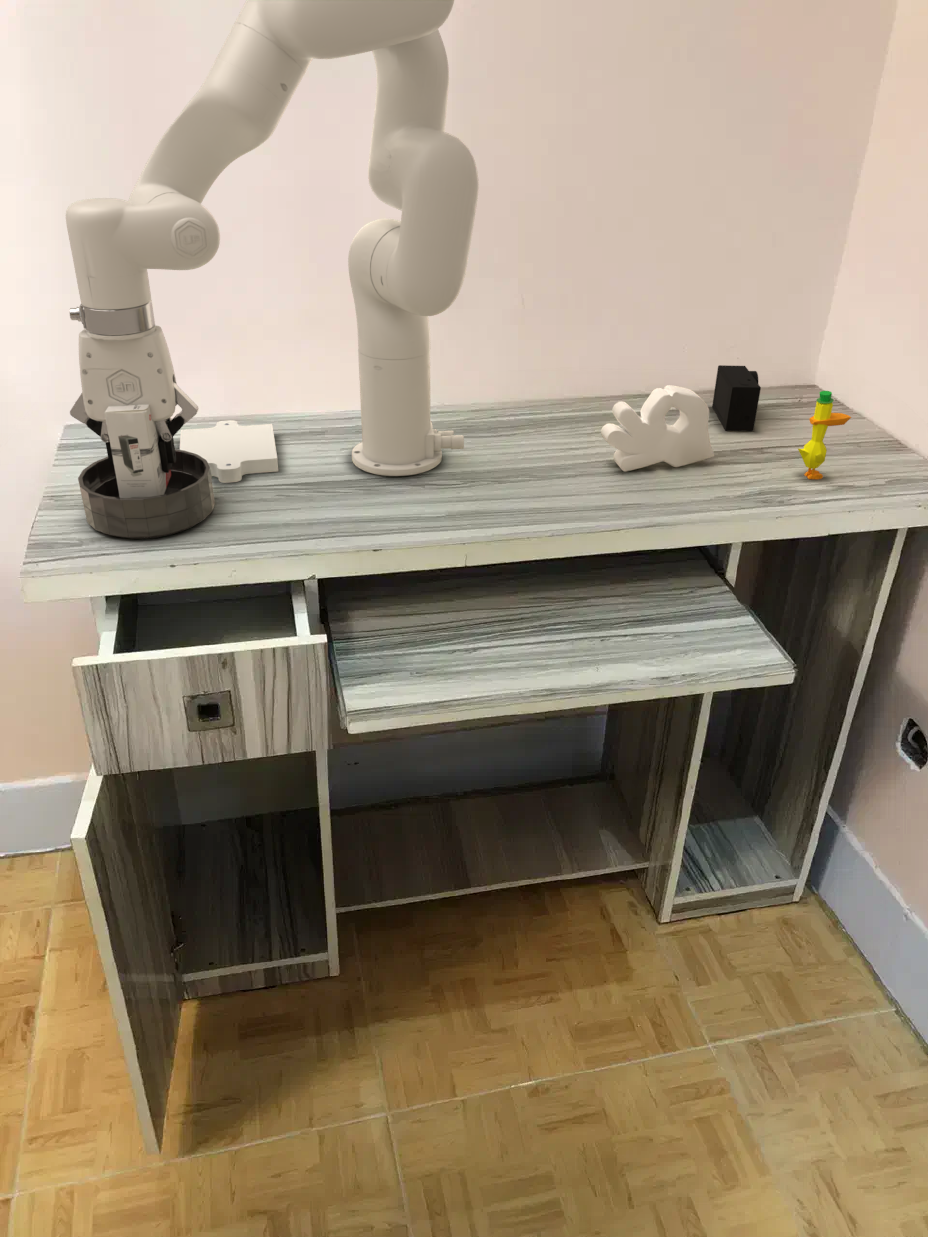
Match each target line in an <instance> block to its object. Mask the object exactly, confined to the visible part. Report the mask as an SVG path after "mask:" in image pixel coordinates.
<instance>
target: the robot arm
mask: <svg viewBox="0 0 928 1237" xmlns="http://www.w3.org/2000/svg"><path fill="white" fill-rule="evenodd" d="M454 4H455V0H245V2H244V4H243V6H242V8H241V9H240V12H239V14H238V16H237V17H236V20H235V21H234V23H233V25H232V27H231V29H230V30H229V33H228V35H227V37H226V39H225V41H224V43H223V45H222V47H221V48H220V50H219V52H218V54H217V56H216V58H215V60H214V62H213V64H212V65H211V68H210V69H209V71H208V73H207V76H206V77H205V79H204V81H203V83H202V85H201V86H200V88H199V89H198V91H197V92H196V93H195V94H194V96H192V97H191V98H190V100H189V101H188V102H187V104H186V105H185V106H184V108H183V109H182V110H181V111H180V113H179V114H178V116H177V117H176V118H175V120H173V122H172V123H171V124H170V125H169V127H168V128H167V129H166V131H165V132H164V133H163V134H162V135H161V138H160V139H159V141H157V143H156V145H155V147H153V150H152V152H151V154H150V156H149V157H148V159H147V161H146V163H145V165H144V167H143V168H142V170H141V172H140V174H139V177H138V179H137V181H136V182H135V185H134V187H133V188H132V191H131V193H130V196H129V199H128V200H125V199H122V198H116V197H95V198H93V197H92V198H85V199H80V200H77V201H74V202H72V203H70V204H69V206H68V207H67V209H66V210H65V224H66V229H67V234H68V240H69V245H70V252H71V256H72V263H73V266H74V267H73V268H74V273H75V277H76V282H77V288H78V289H77V290H78V295H79V300H80V302H81V303H80V305H79V306H76V307H70V308H69V318H70V320H71V321H78V322H81V324H82V326H83V329H82V331H80V332H79V333H78V363H79V364H78V365H79V375H80V385H81V394H80V395H79V396H78V398H77V399H76V401H75V402H74V404H73V405H72V407H71V409H70V410H69V415H70V416H71V417H72V418H74V419H75V420H77V421H78V422H80V423H81V424H84V425H86V427H87V428H88V429H90V430H91V431H92V432H93V433H94V434H96V435H97V436H99V437H100V440H101V441H102V442H104V443H105V449H106V454H107V457H108V459H109V463H110V464H114V462H113V456H112V450H111V445H110V439H109V434H108V428H107V423H106V418H105V411H106V409H107V408H108V407H109V406H128V405H144V404H149V407H150V413H151V419H152V421H155V425H156V427H157V429H158V431H159V433H160V439H159V442H158V447H159V454H160V460H161V467H162V472H164V473H169V471H170V468H171V466H172V463H175V462H176V453H175V449H176V448H175V440H174V437H175V435H176V434H177V433H178V432H179V431H181V429H182V428H183V426H184V425H185V424H186V423H188V422H189V421H190V420H191V419H193V418H194V417H195V416H196V415H197V414H198V412H199V406H198V405H197V404H196V402H194V400H192V399H191V397H189V395H187V393H186V392H185V391H184V390H182V388H181V387H180V386H179V385H178V384H177V378H176V373H175V370H174V365H173V361H172V357H171V353H170V350H169V347H168V343H167V340H166V337H165V334H164V332H163V329H162V327H161V326H160V325H156V320H155V314H154V313H155V312H154V307H153V299H152V293H151V286H150V279H149V273H148V270H165V271H166V270H167V271H169V270H170V271H192V270H195V269H198V268H201V267H203V266H205V265H207V264H209V263H210V261H212V259H214V257H215V256H216V254H217V252H218V250H219V248H220V245H221V244H220V243H221V232H220V228H219V225H218V221H217V220H216V218H215V216H214V215H213V214H212V212H211V211H210V210H209V209H208V208H207V207H205V206H204V205H203V201H204V200H205V198H206V196H207V194H208V192H209V190H210V189H211V188H212V185H214V183H215V182H216V180H217V179H218V177H219V176H220V175H221V173H222V172H223V171H224V170H225V169H226V168H228V167H229V166H230V165H231V164H232V163H233V162H234V161H236V160H238V158H240V157H242V156H243V155H246V154H248V153H250V152H251V151H253V150H255V149H257V148H258V147H259V146H261V145H262V144H264V143H265V142H267V140H269V139H270V138H271V137H272V136H273V134H274V132H275V131H276V129H277V127H278V125H279V123H280V122H281V120H282V117H283V116H284V114H285V111H286V109H287V107H288V106H289V104H290V102H291V100H292V99H293V97H294V95H295V93H296V91H297V89H298V87H299V85H300V84H301V82H302V80H303V78H304V76H305V75H306V73H307V71H308V69H309V67H310V65H311V64H312V61H313V59H315V60H334V59H339V58H345V57H351V56H356V55H360V54H365V53H370V52H371V53H372V55H373V59H374V65H375V71H376V87H375V103H374V112H373V121H372V130H371V137H370V146H369V156H368V163H367V178H368V184H369V188H370V189H371V192H372V193H373V194H374V196H375V197H376V198H377V199H378V200H379V201H381V203H384V204H385V205H387V206H389V207H392V208H393V209H396V210H399V211H401V216H400V219H399V220H398V219H394V218H378V219H374V220H372V221H369V222H368V223H366V224H364V225H363V226H361V228H360V229H359V230H358V231H357V232H356V234H355V235H354V237H353V239H352V241H351V242H350V246H349V251H348V258H347V259H348V260H347V264H348V265H347V266H348V276H349V281H350V287H351V291H352V297H353V302H354V303H353V304H354V310H355V316H356V328H357V353H358V355H357V356H358V376H359V377H358V378H359V399H360V422H361V425H360V426H361V441H360V442H359V443H357V444H356V445H355V446H354V447H353V448H352V450H351V462H352V463H353V464H354V465H355V466H356V468H358V469H359V470H362V471H364V472H366V473H369V474H374V475H378V476H386V477H406V476H413V475H414V476H415V475H418V474H423V473H426V472H428V471H430V470H432V469H434V468H436V467H437V466H438V465H440V463H441V462H442V460H443V459H442V458H443V456H442V455H443V452H442V450H444V449H446V450H448V449H450V450H464V449H465V436H464V435H463V434H456V435H455V430H440V431H439V430H437V429H436V428H435V429H434V426H433V421H432V420H431V418H432V417H431V326H430V319H429V317H434V316H437V315H439V314H441V313H444V312H445V311H446V310H447V309H449V308H450V307H451V306H452V305H453V304H454V302H456V299H458V296H459V295H460V293H461V290H462V287H463V285H464V281H465V277H466V273H467V267H468V262H469V258H470V249H471V244H472V237H473V231H474V226H475V220H476V212H477V207H478V199H479V188H480V187H479V186H480V184H479V175H478V173H479V172H478V168H477V164H476V160H475V157H474V156H473V154H472V152H471V150H470V148H469V147H468V145H466V143H464V141H463V140H461V139H460V138H459V137H457V136H455V135H454V134H451V133H449V132H446V122H447V111H448V100H449V91H450V90H449V88H450V70H449V69H450V68H449V61H448V55H447V51H446V46H445V44H444V41H443V39H442V36H441V35H442V34H441V32H440V30H439V29H440V28H441V27H442V26H443V25H444V24H445V23H446V21H447V19H448V18H449V16H450V14H451V12H452V10H453V6H454ZM176 406H178V407H179V408H181V411H180V412H179V413H177V414H176V415H175V416H174V417H173V415H174V413H175V412H176ZM172 417H173V418H172ZM114 470H115V467H114Z"/></svg>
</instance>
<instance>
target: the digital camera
mask: <svg viewBox="0 0 928 1237" xmlns="http://www.w3.org/2000/svg"><path fill="white" fill-rule="evenodd" d="M761 389H762V388H761V386H760V384H759V374H758V371H756V370H749V369H748V367H747V366H746V365H724V364H723V365H718V366H717V371H716V379H715V385H714V392H713V398H712V405H711V408H712V410H713V412H714V413H715V415H716V417H717V419H718V421H719V422H720V424H721V425H722V428H723V429H724V431H725V432H754V430H755V425H756V424H755V423H756V418H757V413H758V407H759V401H760V395H761Z"/></svg>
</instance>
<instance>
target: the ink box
mask: <svg viewBox="0 0 928 1237" xmlns="http://www.w3.org/2000/svg"><path fill="white" fill-rule="evenodd" d="M105 418H106V423H107V428H108V434H109V439H110V445H111V450H112V456H113V462H114V467H115V473H116V479H117V484H118V490H119V496H120V498H145V497H151V496H158V495H164V493H165V490H166V488H167V485H168V482H169V480H170V477H171V470H170V471H169V473H164V472H162V467H161V460H160V454H159V447H158V442H159V439H160V433H159V431H158V429H157V427H156V425H155V421H152V419H151V413H150V407H149V404H144V405H128V406H109V407H108V408H107V409H106V411H105Z"/></svg>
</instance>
